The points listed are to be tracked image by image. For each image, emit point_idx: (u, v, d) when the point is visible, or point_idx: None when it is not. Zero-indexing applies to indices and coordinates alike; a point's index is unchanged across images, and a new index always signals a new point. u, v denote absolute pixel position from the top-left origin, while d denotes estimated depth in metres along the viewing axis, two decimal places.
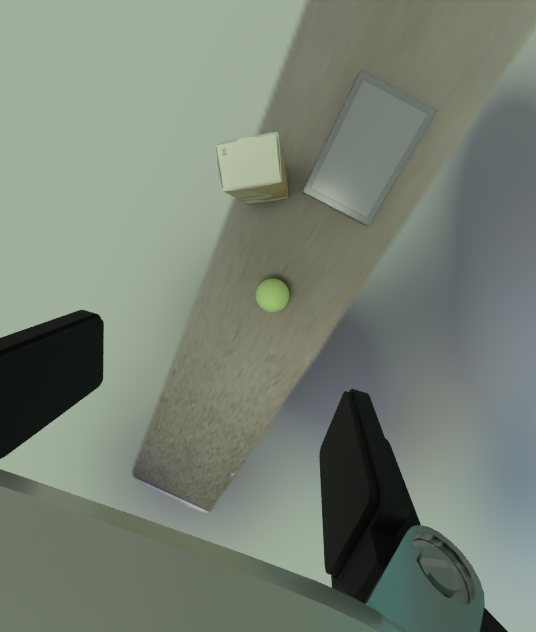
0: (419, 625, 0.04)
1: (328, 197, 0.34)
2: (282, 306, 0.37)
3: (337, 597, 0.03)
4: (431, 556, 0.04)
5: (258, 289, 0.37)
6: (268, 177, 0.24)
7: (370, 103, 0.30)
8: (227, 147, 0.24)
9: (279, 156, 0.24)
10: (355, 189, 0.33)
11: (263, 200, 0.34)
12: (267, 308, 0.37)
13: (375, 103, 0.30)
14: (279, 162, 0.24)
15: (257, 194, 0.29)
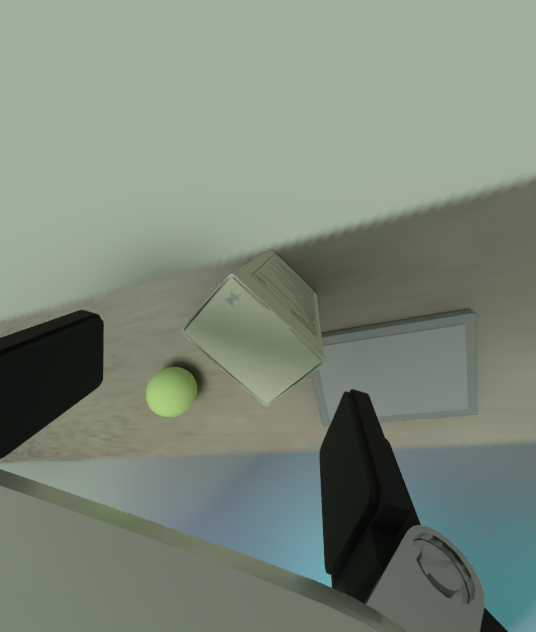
0: (419, 625, 0.04)
1: (319, 372, 0.24)
2: None
3: (337, 597, 0.03)
4: (431, 556, 0.04)
5: (159, 379, 0.25)
6: (256, 387, 0.13)
7: (444, 348, 0.22)
8: (242, 299, 0.11)
9: (295, 383, 0.13)
10: None
11: None
12: (149, 406, 0.25)
13: (448, 353, 0.22)
14: (288, 389, 0.13)
15: None
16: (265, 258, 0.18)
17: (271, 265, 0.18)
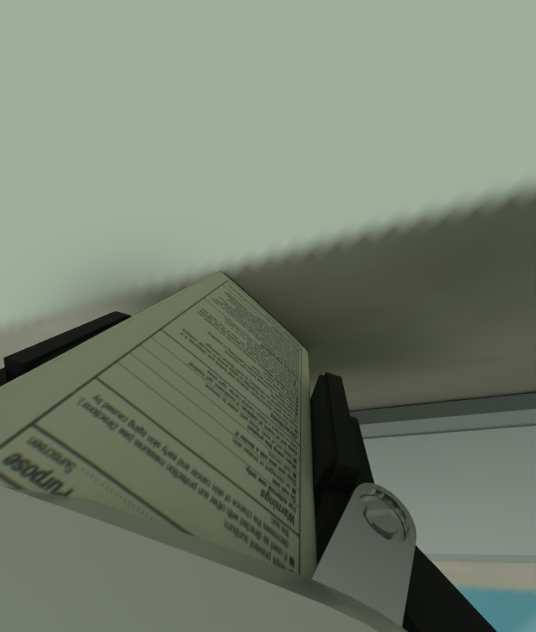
0: (352, 554, 0.04)
1: None
2: None
3: (337, 597, 0.03)
4: (375, 507, 0.05)
5: None
6: None
7: None
8: None
9: None
10: None
11: None
12: None
13: None
14: None
15: None
16: (184, 303, 0.08)
17: (195, 322, 0.07)
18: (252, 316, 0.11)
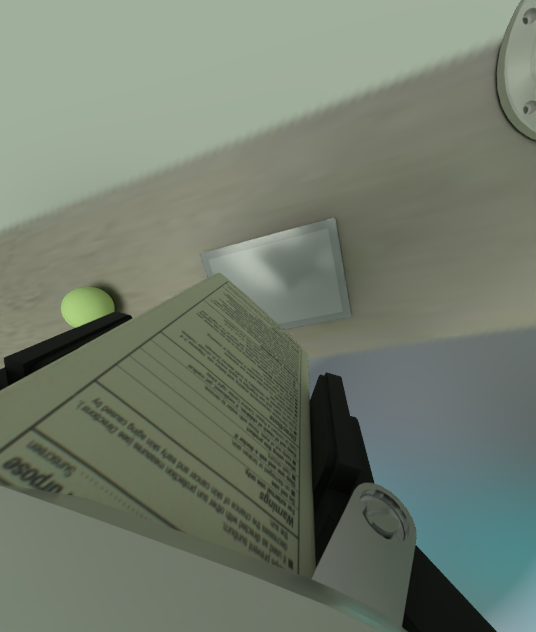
0: (352, 554, 0.04)
1: None
2: None
3: (337, 597, 0.03)
4: (374, 507, 0.05)
5: (72, 292, 0.27)
6: None
7: (315, 253, 0.25)
8: None
9: None
10: None
11: None
12: (64, 318, 0.28)
13: (318, 257, 0.25)
14: None
15: None
16: (183, 305, 0.08)
17: (195, 324, 0.07)
18: (252, 317, 0.11)
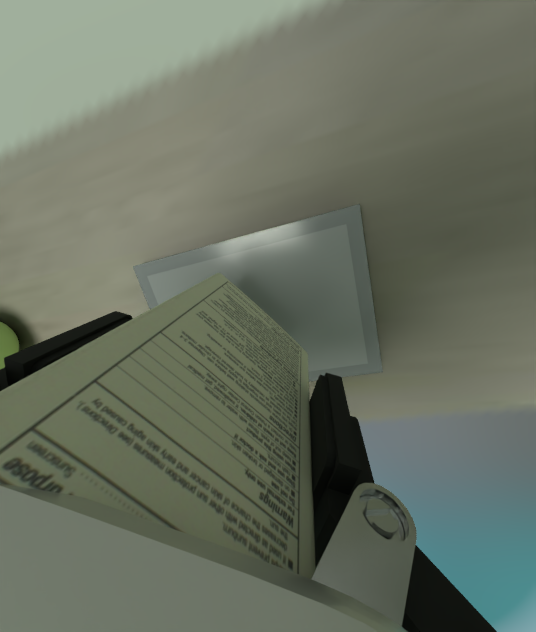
0: (352, 553, 0.04)
1: None
2: None
3: (337, 597, 0.03)
4: (375, 507, 0.05)
5: None
6: None
7: (323, 267, 0.14)
8: None
9: None
10: None
11: None
12: None
13: (328, 275, 0.14)
14: None
15: None
16: (183, 306, 0.08)
17: (195, 324, 0.07)
18: (252, 318, 0.11)
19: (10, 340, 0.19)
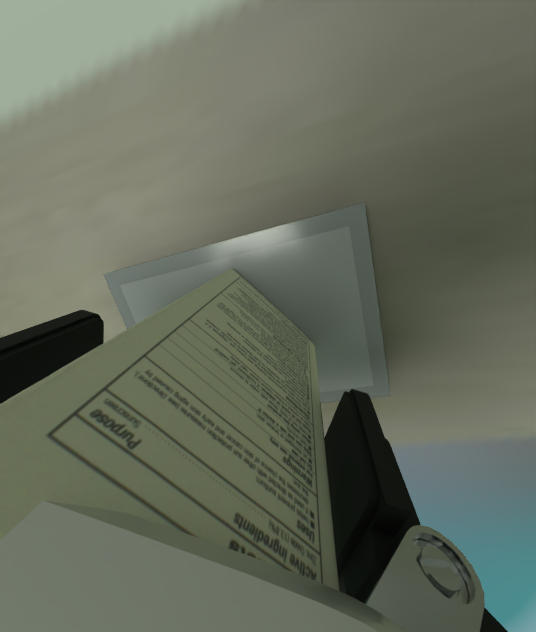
0: (419, 625, 0.04)
1: None
2: None
3: (337, 597, 0.03)
4: (431, 556, 0.04)
5: None
6: None
7: (322, 276, 0.12)
8: None
9: None
10: None
11: None
12: None
13: (328, 285, 0.12)
14: None
15: None
16: (205, 297, 0.08)
17: (216, 314, 0.08)
18: (263, 310, 0.11)
19: None
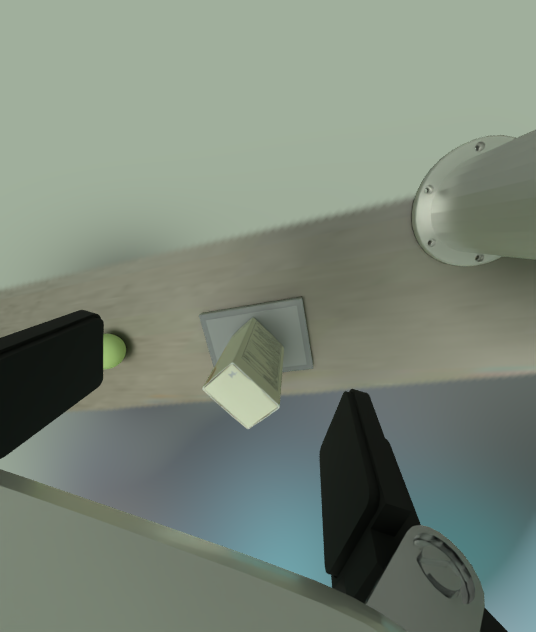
0: (419, 625, 0.04)
1: (210, 338, 0.35)
2: None
3: (337, 597, 0.03)
4: (431, 556, 0.04)
5: None
6: (243, 419, 0.24)
7: (287, 322, 0.33)
8: (237, 375, 0.22)
9: (264, 417, 0.23)
10: None
11: None
12: None
13: (289, 325, 0.33)
14: (260, 420, 0.23)
15: None
16: (250, 332, 0.29)
17: (253, 337, 0.28)
18: (265, 334, 0.32)
19: (124, 347, 0.37)
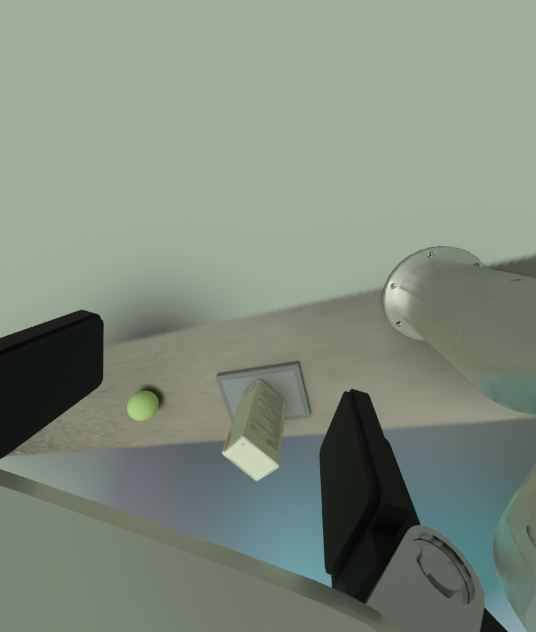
0: (419, 625, 0.04)
1: (225, 393, 0.43)
2: None
3: (337, 597, 0.03)
4: (431, 556, 0.04)
5: (134, 399, 0.43)
6: (252, 474, 0.31)
7: (287, 381, 0.40)
8: (247, 444, 0.30)
9: (268, 472, 0.31)
10: None
11: None
12: (129, 414, 0.43)
13: (289, 384, 0.40)
14: (265, 475, 0.31)
15: None
16: (256, 398, 0.37)
17: (259, 402, 0.36)
18: (269, 394, 0.39)
19: (157, 400, 0.45)
